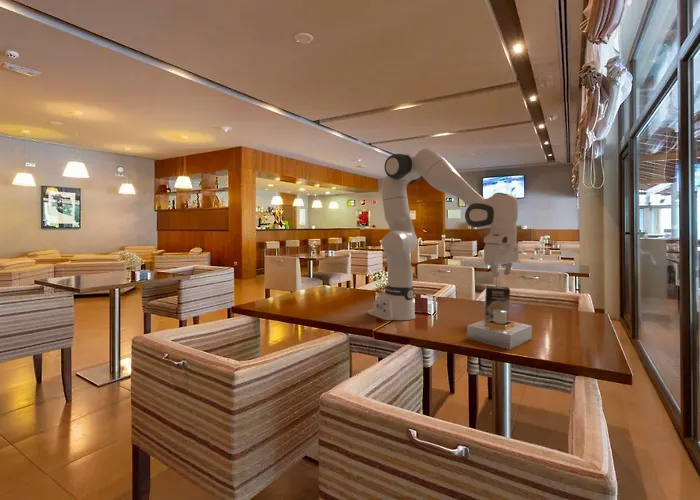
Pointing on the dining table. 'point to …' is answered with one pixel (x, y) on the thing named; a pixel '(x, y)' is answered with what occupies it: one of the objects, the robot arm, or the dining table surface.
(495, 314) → the spout can
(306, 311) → the dining table surface
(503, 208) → the robot arm
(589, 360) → the dining table surface
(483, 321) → the grey rectangular block
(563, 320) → the dining table surface
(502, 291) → the coffee box
